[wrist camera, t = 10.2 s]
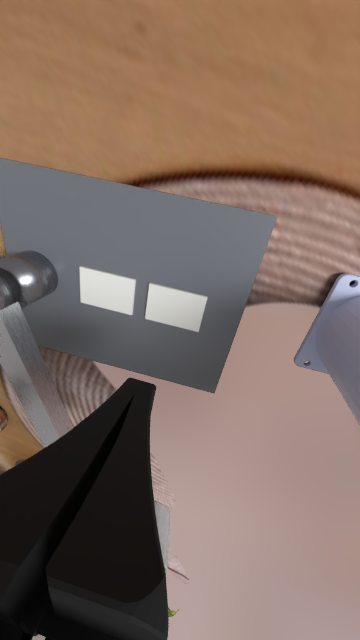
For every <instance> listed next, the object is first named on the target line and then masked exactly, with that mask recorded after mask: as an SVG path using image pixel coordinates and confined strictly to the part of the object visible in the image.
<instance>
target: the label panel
mask: <svg viewBox="0 0 360 640" xmlns="http://www.w3.org/2000/svg"><path fill="white" fill-rule="evenodd" d="M276 219H277V216H274V215H269V214H265V213H260V212H255V211H250V210H246V209H241V208H236V207H231V206H227V205H222V204H217V203H212V202H208V201H203V200H198V199H193V198H189V197H184V196H179V195H175V194H170V193H165V192H160V191H156V190H151V189H146V188H141V187H137V186H132V185H127V184H122V183H118V182H113V181H108V180H103V179H99V178H94V177H89V176H84V175H80V174H75V173H70V172H65V171H61V170H56V169H51V168H46V167H42V166H37V165H32V164H27V163H23V162H18V161H13V160H8V159H3V158H0V222H1V227H2V233H3V238H4V243H5V249H6V254H7V256H8V255H12V254H16V253H20V252H24V251H35V252H38V253H40V254H42V255H44V256H45V257H46V258H47V259H48V260H49V261H50V262H51V263H52V264H53V266H54V268H55V270H56V272H57V276H58V285H57V288H56V289H55V291H54V292H52V293H50V294H49V295H47V296H45V297H43V298H41V299H39V300H37V301H35V302H33V303H31V304H30V305H28V306H26V307H24V308H22V311H23V314H24V316H25V318H26V321H27V323H28V325H29V328H30V330H31V332H32V335H33V337H34V339H35V341H36V344H37V346H41V347H45V348H48V349H52V350H56V351H59V352H63V353H67V354H70V355H74V356H78V357H82V358H85V359H89V360H93V361H96V362H100V363H104V364H108V365H111V366H115V367H118V368H122V369H126V370H130V371H133V372H137V373H141V374H144V375H148V376H152V377H155V378H159V379H163V380H167V381H171V382H174V383H178V384H181V385H185V386H189V387H192V388H196V389H200V390H204V391H207V392H211V393H215V390H216V387H217V384H218V381H219V378H220V376H221V373H222V370H223V367H224V365H225V362H226V359H227V356H228V353H229V351H230V348H231V345H232V342H233V339H234V337H235V334H236V331H237V328H238V325H239V323H240V320H241V317H242V314H243V311H244V309H245V306H246V303H247V300H248V297H249V295H250V292H251V289H252V286H253V283H254V281H255V278H256V275H257V272H258V269H259V267H260V264H261V261H262V258H263V255H264V253H265V250H266V247H267V244H268V241H269V239H270V236H271V233H272V230H273V227H274V225H275V222H276Z"/></svg>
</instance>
